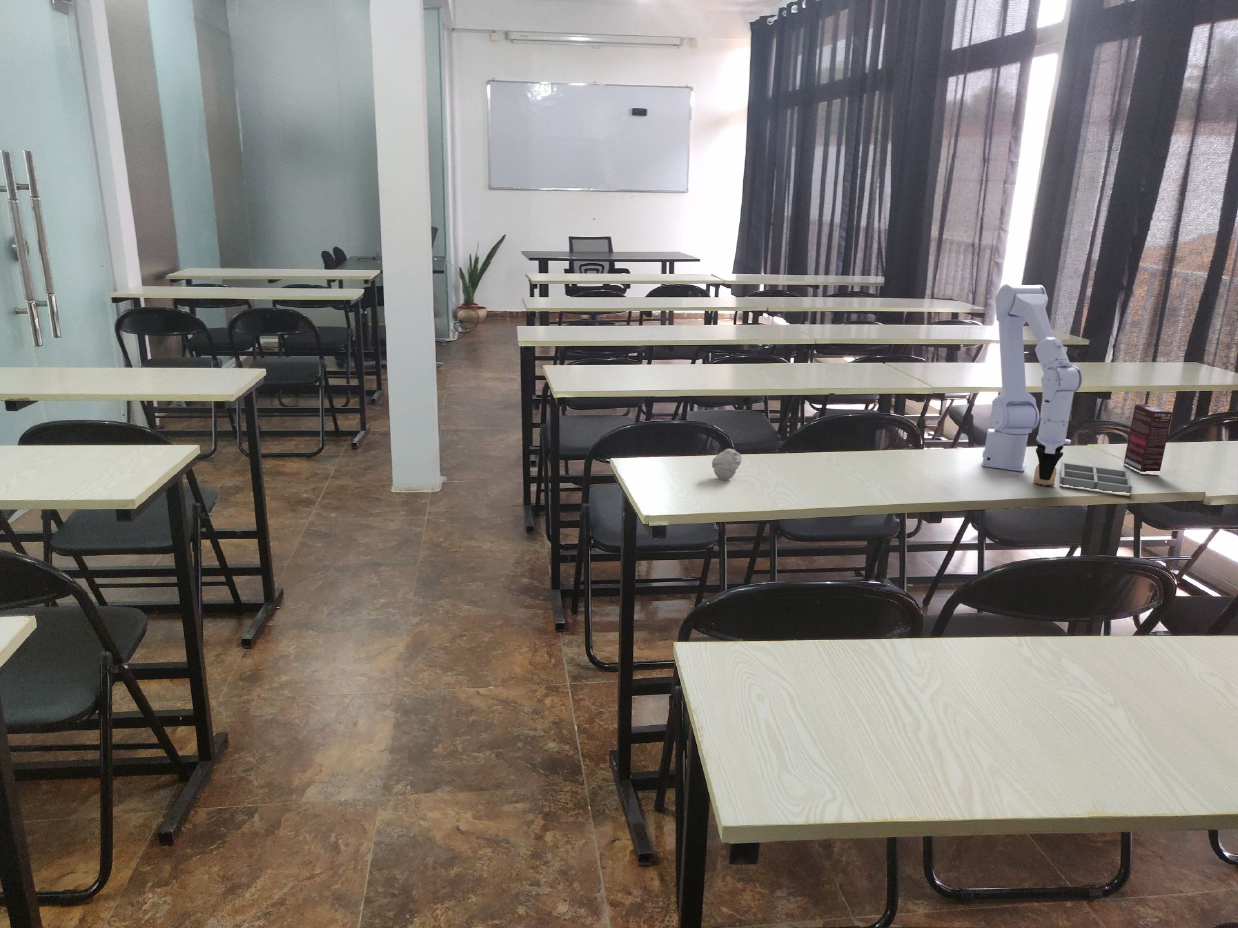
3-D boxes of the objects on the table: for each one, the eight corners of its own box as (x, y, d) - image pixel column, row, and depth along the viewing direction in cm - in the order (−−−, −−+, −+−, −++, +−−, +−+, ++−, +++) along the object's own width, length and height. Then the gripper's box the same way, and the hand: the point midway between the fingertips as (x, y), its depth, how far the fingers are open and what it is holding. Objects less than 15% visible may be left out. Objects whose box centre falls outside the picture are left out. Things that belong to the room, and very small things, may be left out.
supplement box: (1160, 476, 215) (1174, 412, 211) (1140, 475, 216) (1153, 411, 211) (1141, 466, 224) (1153, 404, 219) (1121, 465, 224) (1134, 403, 219)
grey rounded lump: (745, 481, 201) (747, 451, 199) (719, 484, 198) (721, 454, 196) (731, 473, 206) (733, 444, 204) (705, 476, 203) (706, 447, 201)
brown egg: (1033, 483, 205) (1036, 462, 203) (1033, 478, 209) (1037, 458, 207) (1054, 486, 203) (1057, 465, 202) (1054, 481, 207) (1057, 461, 205)
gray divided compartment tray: (1059, 486, 204) (1061, 477, 204) (1060, 471, 217) (1061, 462, 216) (1129, 496, 199) (1131, 486, 198) (1126, 480, 211) (1127, 471, 210)
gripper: (1074, 428, 194) (1063, 487, 197) (1073, 415, 206) (1063, 471, 210) (1039, 424, 197) (1029, 482, 200) (1040, 411, 209) (1031, 467, 213)
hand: (1044, 476), depth 205 cm, fingers closed on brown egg, 4 cm apart
